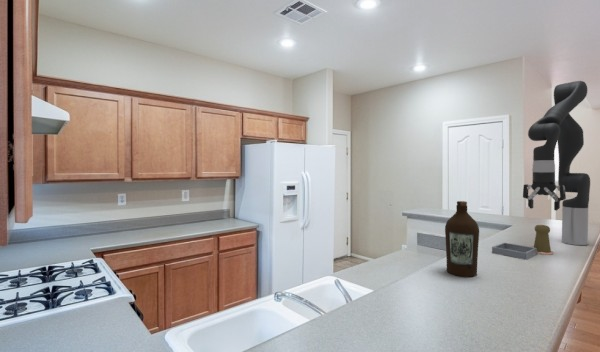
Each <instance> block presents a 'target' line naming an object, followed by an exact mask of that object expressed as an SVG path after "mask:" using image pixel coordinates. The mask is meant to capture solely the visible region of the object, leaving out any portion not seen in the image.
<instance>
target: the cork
mask: <svg viewBox="0 0 600 352" xmlns="http://www.w3.org/2000/svg"><path fill="white" fill-rule="evenodd" d="M534 231H535V238H534V243H533V248H537V252H544V253H550V252H551V251H552V249H551V244H550V236H549V234H550V232H551V228H550V226H549V225H546V224H537V225H535V226H534Z"/></svg>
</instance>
